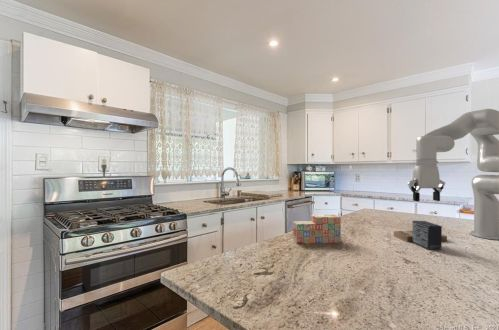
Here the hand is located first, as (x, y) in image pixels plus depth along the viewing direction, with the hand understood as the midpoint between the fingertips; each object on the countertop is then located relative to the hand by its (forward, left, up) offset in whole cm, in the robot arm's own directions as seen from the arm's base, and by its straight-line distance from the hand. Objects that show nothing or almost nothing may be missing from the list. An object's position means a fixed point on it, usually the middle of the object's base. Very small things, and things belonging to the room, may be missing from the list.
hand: (426, 200), depth 114 cm
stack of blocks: (+48, -10, -21) cm, 53 cm away
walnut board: (-5, -10, -20) cm, 23 cm away
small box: (0, +1, -21) cm, 21 cm away
